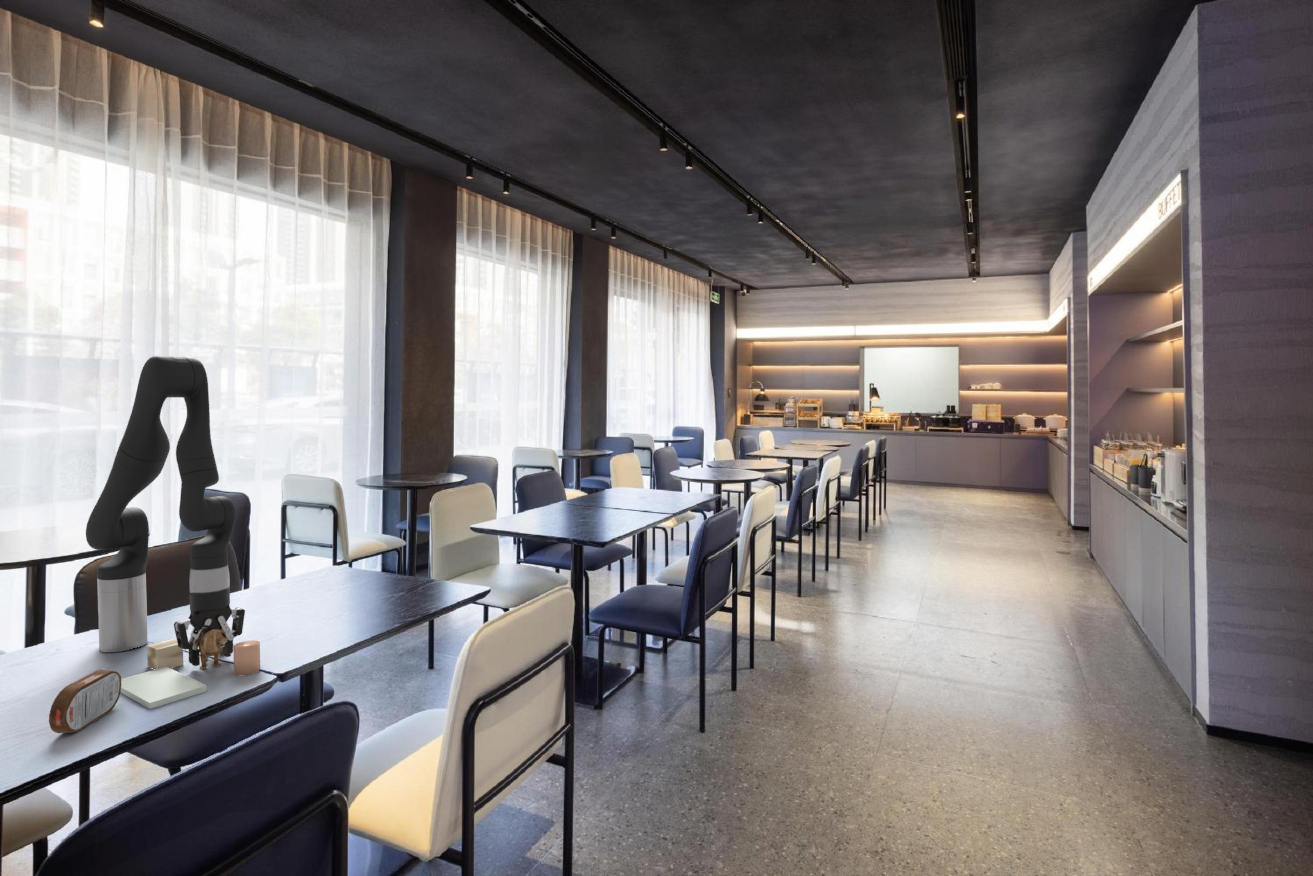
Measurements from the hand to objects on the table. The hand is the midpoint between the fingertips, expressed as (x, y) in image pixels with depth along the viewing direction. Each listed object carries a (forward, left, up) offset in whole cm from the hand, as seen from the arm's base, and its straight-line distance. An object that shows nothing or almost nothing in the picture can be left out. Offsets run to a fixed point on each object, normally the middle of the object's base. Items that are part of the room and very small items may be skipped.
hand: (211, 660), depth 154 cm
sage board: (+5, -12, -1) cm, 13 cm away
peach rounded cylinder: (+10, +3, -1) cm, 10 cm away
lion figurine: (-1, +1, -1) cm, 2 cm away
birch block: (-8, -6, -1) cm, 10 cm away
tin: (+11, -26, -1) cm, 28 cm away
